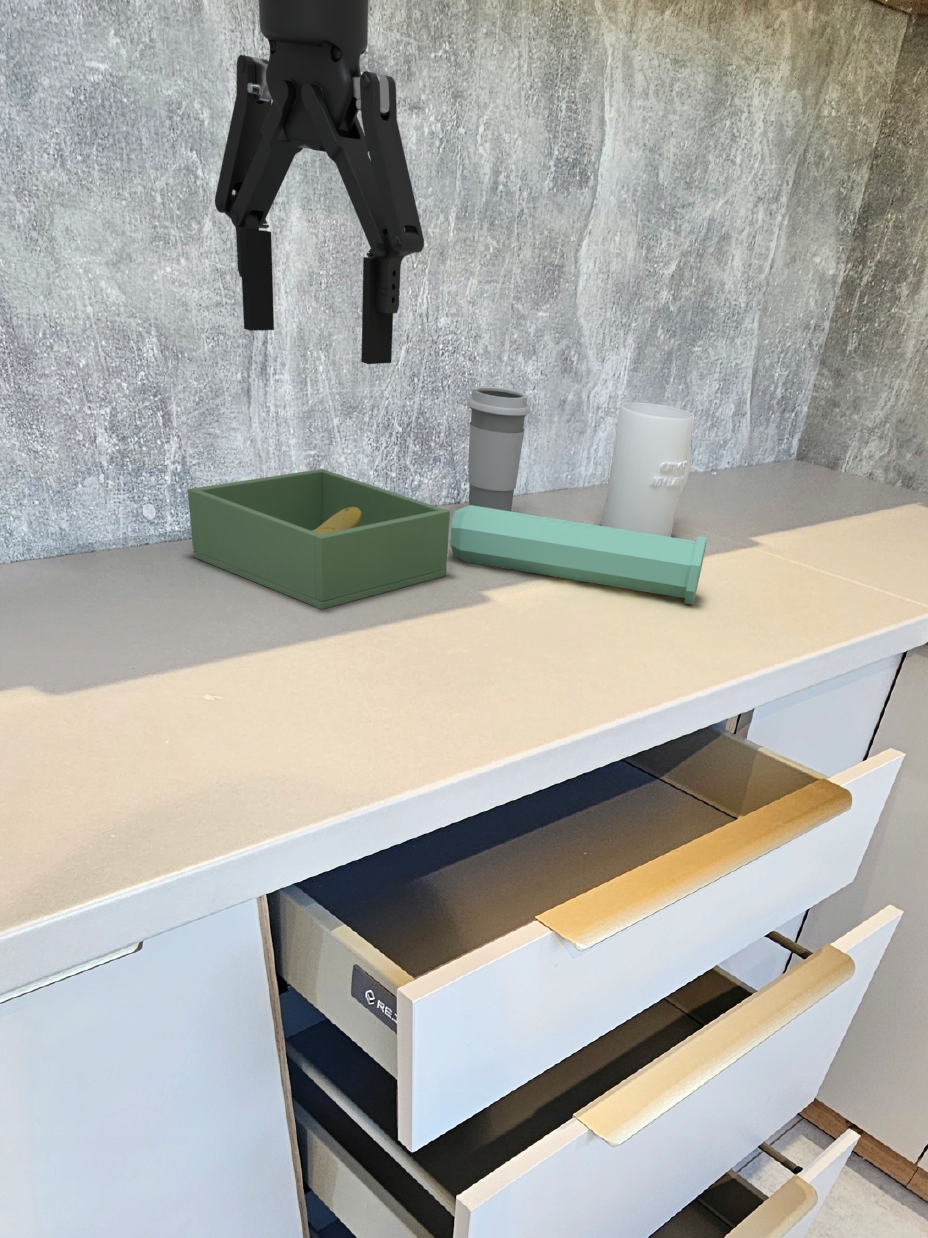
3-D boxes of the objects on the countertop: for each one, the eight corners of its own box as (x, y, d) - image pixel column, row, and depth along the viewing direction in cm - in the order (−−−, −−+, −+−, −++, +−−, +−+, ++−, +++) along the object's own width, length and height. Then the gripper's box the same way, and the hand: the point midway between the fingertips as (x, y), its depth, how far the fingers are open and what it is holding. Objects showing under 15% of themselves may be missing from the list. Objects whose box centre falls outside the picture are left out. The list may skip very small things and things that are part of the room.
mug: (703, 535, 117) (730, 414, 109) (645, 549, 110) (669, 421, 102) (646, 517, 121) (668, 399, 113) (587, 529, 114) (605, 404, 106)
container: (448, 490, 96) (707, 531, 93) (461, 504, 101) (706, 543, 98) (439, 558, 98) (692, 600, 95) (453, 568, 103) (692, 608, 100)
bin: (193, 557, 92) (187, 489, 89) (322, 531, 103) (321, 468, 99) (322, 609, 86) (321, 538, 82) (446, 576, 96) (450, 511, 92)
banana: (350, 548, 98) (350, 502, 95) (368, 554, 97) (368, 508, 94) (272, 565, 91) (269, 516, 89) (290, 572, 90) (288, 523, 88)
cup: (452, 509, 114) (460, 383, 106) (508, 512, 116) (520, 387, 108) (467, 528, 109) (477, 396, 101) (526, 530, 111) (540, 401, 103)
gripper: (150, -55, 71) (179, 317, 85) (414, -36, 61) (397, 380, 76) (232, -33, 76) (247, 316, 90) (489, -12, 66) (460, 375, 80)
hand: (315, 346), depth 83 cm, fingers open, 13 cm apart
